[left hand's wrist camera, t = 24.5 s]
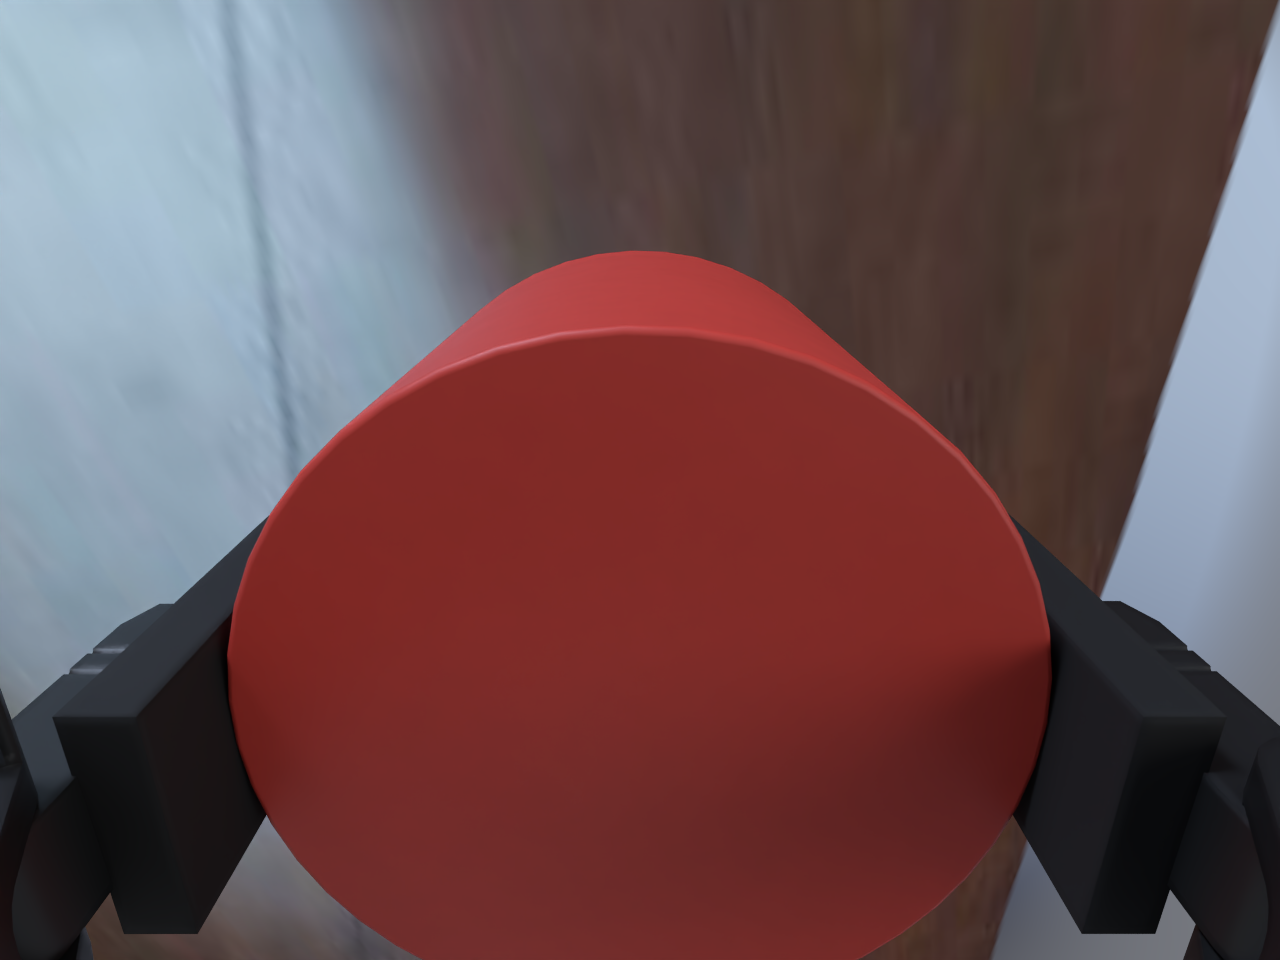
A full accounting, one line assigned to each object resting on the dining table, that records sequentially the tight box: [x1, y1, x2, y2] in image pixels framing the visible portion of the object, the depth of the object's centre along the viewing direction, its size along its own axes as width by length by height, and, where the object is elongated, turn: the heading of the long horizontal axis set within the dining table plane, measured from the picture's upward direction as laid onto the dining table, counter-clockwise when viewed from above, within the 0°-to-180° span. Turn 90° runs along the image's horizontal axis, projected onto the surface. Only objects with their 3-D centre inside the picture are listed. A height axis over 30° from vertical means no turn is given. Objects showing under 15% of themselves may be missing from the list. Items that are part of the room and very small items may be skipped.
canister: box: [227, 251, 1052, 960], centre depth 12 cm, size 9×9×7 cm
